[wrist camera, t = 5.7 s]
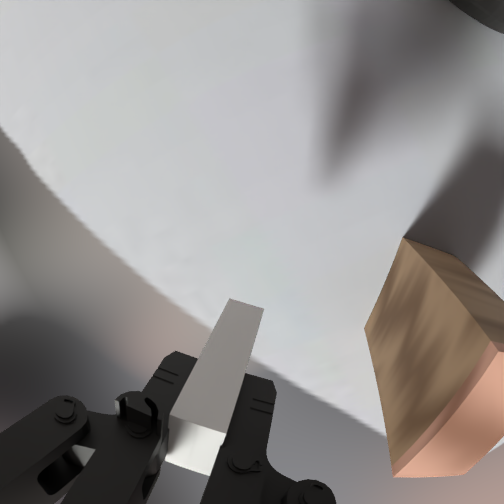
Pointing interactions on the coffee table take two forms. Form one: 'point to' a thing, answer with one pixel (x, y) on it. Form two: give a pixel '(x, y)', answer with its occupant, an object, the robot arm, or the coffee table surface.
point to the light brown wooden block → (437, 363)
